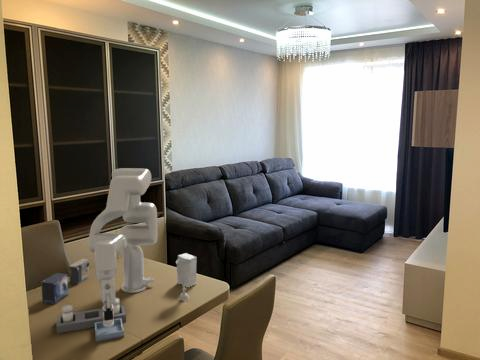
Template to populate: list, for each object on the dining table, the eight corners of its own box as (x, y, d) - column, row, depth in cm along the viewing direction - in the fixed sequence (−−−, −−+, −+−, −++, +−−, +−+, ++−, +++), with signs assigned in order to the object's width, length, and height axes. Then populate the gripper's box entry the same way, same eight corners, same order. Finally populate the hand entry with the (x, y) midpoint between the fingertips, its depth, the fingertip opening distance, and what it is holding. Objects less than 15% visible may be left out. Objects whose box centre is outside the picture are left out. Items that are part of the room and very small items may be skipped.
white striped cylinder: (113, 322, 158) (112, 303, 157) (114, 327, 155) (113, 307, 153) (103, 324, 157) (102, 304, 156) (103, 329, 153) (102, 309, 152)
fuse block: (124, 311, 173) (123, 304, 173) (126, 321, 165) (125, 314, 164) (58, 322, 164) (57, 315, 163) (56, 333, 156) (56, 326, 155)
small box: (54, 305, 178) (53, 283, 176) (42, 303, 179) (40, 281, 178) (69, 294, 188) (68, 273, 187) (57, 293, 190) (55, 272, 188)
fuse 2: (119, 314, 170) (119, 297, 169) (120, 319, 166) (119, 301, 165) (109, 316, 169) (109, 298, 167) (110, 321, 165) (109, 302, 164)
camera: (76, 286, 198) (75, 266, 196) (67, 284, 199) (65, 265, 198) (91, 277, 208) (90, 258, 207) (82, 275, 210) (81, 257, 208)
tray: (121, 323, 163) (121, 318, 163) (124, 336, 154) (123, 330, 153) (95, 328, 159) (94, 322, 159) (95, 342, 150) (95, 336, 150)
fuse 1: (73, 322, 164) (72, 304, 162) (73, 327, 160) (72, 308, 159) (63, 324, 162) (61, 305, 161) (62, 329, 159) (61, 310, 157)
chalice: (194, 296, 187) (194, 260, 184) (188, 303, 181) (187, 265, 178) (180, 294, 189) (179, 258, 186) (173, 300, 183) (172, 263, 180)
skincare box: (176, 283, 201) (176, 255, 199) (185, 280, 206) (185, 252, 203) (188, 288, 196) (187, 259, 193) (197, 284, 200) (196, 256, 198)
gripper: (118, 278, 146) (120, 325, 149) (114, 263, 161) (116, 305, 164) (96, 281, 143) (99, 329, 146) (95, 265, 159) (97, 308, 162)
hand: (108, 316), depth 155 cm, fingers closed on white striped cylinder, 4 cm apart
